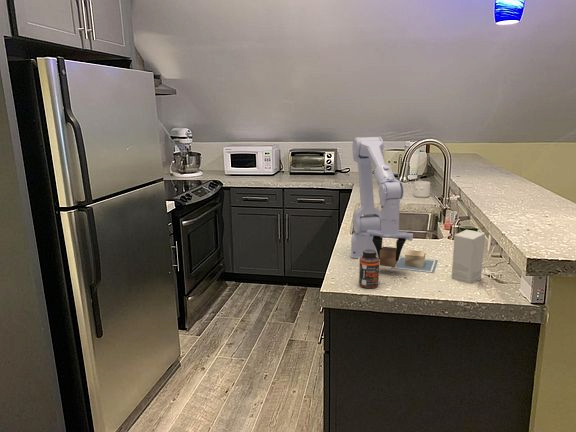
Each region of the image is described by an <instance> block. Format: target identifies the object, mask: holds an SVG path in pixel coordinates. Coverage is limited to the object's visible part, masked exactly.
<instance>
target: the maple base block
mask: <svg viewBox="0 0 576 432" xmlns="http://www.w3.org/2000/svg"><path fill="white" fill-rule="evenodd" d="M404 257H405V266H410V267H419V268H423V266H424V264H425V259H426V251H424V250H414V249H407V251H406V252H405V254H404Z"/></svg>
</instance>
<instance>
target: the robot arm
mask: <svg viewBox="0 0 576 432" xmlns="http://www.w3.org/2000/svg"><path fill="white" fill-rule="evenodd" d="M351 145H352V158H353V161H354V162H356V163H357V168H358V169H357V170H358V183H359V198H360V199H359V200H360V207H359V208H357V210H356V211H355V212H354V214H353V219H352V220H353V221H352V223H353V231H354V232H353V233H352V235H351V241H350V242H351V245H350V249H351V250H350V259H351V258H352V259H360V258H361V257H362V256H363V250H366V249H372V250H375V251H376V257H378V259H379V260H380V250H381V249H382V247H383V240H384V239H394V240H395V239H396V242H395V243H396V244H395V246H396V247H395V248H396V249H397V252H396V261H399V257H400V256H401V252H402V249H403V247H404V245H405V243H406V241H411V242H412V241H413V239H414V233H412V232H411V233H410V232H406V231H405V232H404V231H400V201H401V200H402V199H403V197H404V186H403V185H404V184H403V182H402V181H400V180H399V179H397V178H396V177H395V175H394V173H393V170H392V168H391V166H390V165H388V164H386V161H385V158H384V154H383V152H384V151H383V150H384V145H385V144H384V139H383V138H382V137H381V136H369V137H364V136H363V137H362V136H361V137H358V136H357V137H355V138H354V139H353V141H352V144H351ZM372 167H374V172H373V169H372ZM373 175H374V178H375V180H376V182H377V185H378V197H379V205H380V210H381V211H380V210H379V209H378V208H376V207H375V201H374V200H375V199H374V198H375V197H374V186H373V185H374V182H373ZM383 238H384V239H383Z"/></svg>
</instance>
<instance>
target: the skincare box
mask: <svg viewBox="0 0 576 432" xmlns="http://www.w3.org/2000/svg"><path fill="white" fill-rule="evenodd" d="M485 236H486V233H485V232H483V231H482V232H481V231H477V230H470V229H465V230H463V231H460V232H458V233H456V234H454V238H453V239H454V241H453V251H452V266H451V280H455V281H459V282H463V283H466V284H472V283H475V282H479V281H480V280H482V275H483V274H482V271H483V261H484V260H483V259H484V250H485V249H484V248H485V246H484V245H485V239H486V238H485Z"/></svg>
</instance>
